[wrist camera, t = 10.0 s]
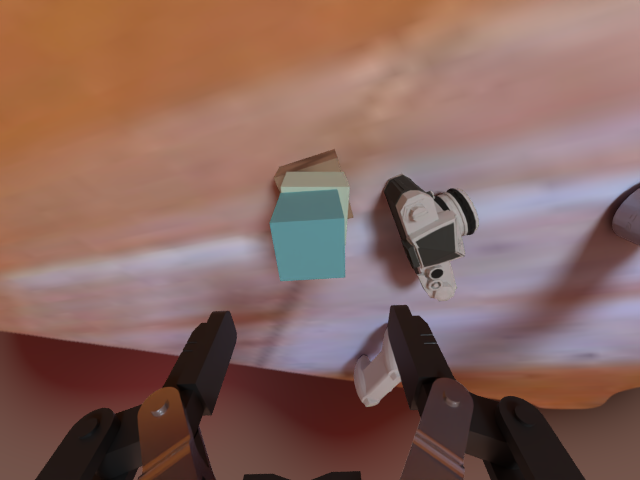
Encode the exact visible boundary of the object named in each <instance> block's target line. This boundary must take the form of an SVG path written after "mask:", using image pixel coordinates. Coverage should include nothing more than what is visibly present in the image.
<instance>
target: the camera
mask: <svg viewBox="0 0 640 480" xmlns="http://www.w3.org/2000/svg"><path fill="white" fill-rule="evenodd" d="M384 193H385V196H386V199H387V201H388V204H389V207H390V209H391V212H392V215H393V218H394V220H395V223H396V226H397V228H398V231H399V234H400V237H401V239H402V240H401V241H402V244H403V247H404V249H405V252H406V255H407V258H408V259H409V261H410V264H411V266H412V268H413V269H414V270H415V272H416V274H417V276H418V278H419V280H420V282H421V284H422V287H423V288H424V290H425V291H426V292H427V294H428V295H429V296H430V297H431V298H435V299H437V300H438V301H447V300H449V299H450V298H452V297H453V296H454V293H455V290H456V288H457V286H456V283H455V279H454V275H453V271H452V268H451V264H450V261H453V260H455V259H458V258H461V257H464V256H465V255H464V254H465V250H464V245H463V241H462V236H465V235H471V234H473V233H474V232H475V231H476V230H477V228H478V226H479V220H478V216H477V212H476V209H475V207H474V205H473V203H472V201H471V200H470V198H469V197H468V196H467V194H466V193H464V192H463V191H462V190H460V189H453V188H452V189H449V190H447V192H445V193H443V194H442V195H438V196H435V197H434V194H433V192H432V191H429V192H424V191H423V190H422V189H421V188H420V187H419V186H417V185H416V184H415V183H414V182H413V181H412V180H411V179H410V178H408V177H406V176H405V175H403V174H399V175H397V176H395V177H393V178H390V179H389V180H388V182H387V184H386V186H385V188H384Z"/></svg>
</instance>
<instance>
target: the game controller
mask: <svg viewBox="0 0 640 480" xmlns="http://www.w3.org/2000/svg"><path fill="white" fill-rule="evenodd" d="M354 382H355V387H356V390H357V394H358V396H359V398H360V400H361V401H362V402H363V403H364V404H365V406H366V407H369V406H374V405H377V404H378V403H379V402H380V401H379V400H380V399H382V398H383V397H384V396H385V395H386V394H387V393H388V392H391V391H392V389H393V388H394V387H395V386H396V385H397V384H398V383H399V382H402V381H401V378H400V374H399V371H398V368H397V364H396V361H395V358H394V354H393V351H392V348H391V344H390V341H389V337H388V327H387V329H386V331H385V334H384V338H383V346H382V351H381V352H380V353H379V354H378V355H377V356H376V357H375V358H374V359H373V361H372V362H370V360H369V358H368V356H365V355H362V356H361V357H360V358H359V360H358V361H357V363H356V365H355V370H354Z"/></svg>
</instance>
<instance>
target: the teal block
mask: <svg viewBox="0 0 640 480" xmlns="http://www.w3.org/2000/svg"><path fill="white" fill-rule="evenodd" d="M270 228H271V234H272V239H273V244H274V250H275V255H276V261H277V266H278V272H279V277H280V281H293V280H310V279H327V278H344V277H345V223H344V214H343V210H342V206H341V202H340V198H339V194H338V190H337V189H332V190H316V191H301V192H286V193H280V196H279V199H278V201H277V204H276V207H275V209H274V212H273V215H272V218H271V220H270Z"/></svg>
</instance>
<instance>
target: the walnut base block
mask: <svg viewBox="0 0 640 480" xmlns="http://www.w3.org/2000/svg"><path fill="white" fill-rule="evenodd" d="M286 172H341V169H340V165H339V161H338V157H337V155H336V152H335V150H334V149H333V150H330V151H327V152H324V153H321V154H318V155H315V156H312V157H309V158H306V159H303V160H300V161H297V162H294V163H290V164H287V165H284V166H281V167H279V169H278V171H277V173H276V175H275V177H274V180H275V182H276V185H277V187H278V190H279V192H280V193H281V185H282V182H283V180H284V177H285V174H286ZM349 218H353V214H352V210H351V206H350V203H348V217H347V219H349Z"/></svg>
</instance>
